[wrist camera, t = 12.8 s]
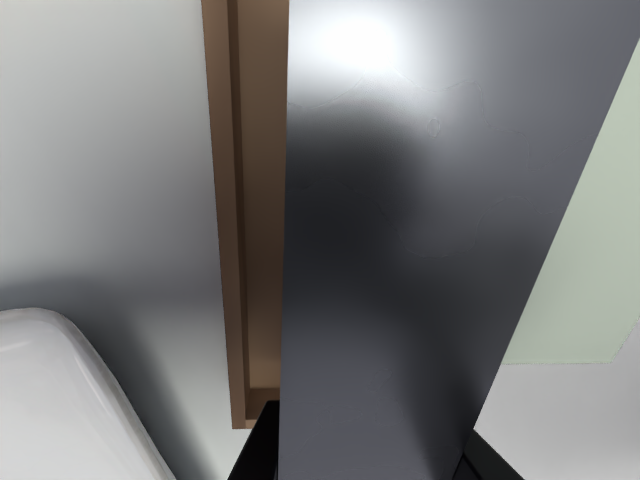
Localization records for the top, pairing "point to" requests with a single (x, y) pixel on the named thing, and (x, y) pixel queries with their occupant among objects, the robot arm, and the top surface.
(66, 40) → the top surface
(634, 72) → the sage mat
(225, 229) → the walnut slot tray
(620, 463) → the top surface
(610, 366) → the top surface
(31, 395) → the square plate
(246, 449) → the robot arm
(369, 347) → the gunmetal bar
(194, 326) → the top surface
